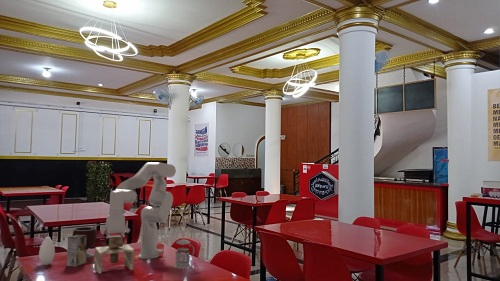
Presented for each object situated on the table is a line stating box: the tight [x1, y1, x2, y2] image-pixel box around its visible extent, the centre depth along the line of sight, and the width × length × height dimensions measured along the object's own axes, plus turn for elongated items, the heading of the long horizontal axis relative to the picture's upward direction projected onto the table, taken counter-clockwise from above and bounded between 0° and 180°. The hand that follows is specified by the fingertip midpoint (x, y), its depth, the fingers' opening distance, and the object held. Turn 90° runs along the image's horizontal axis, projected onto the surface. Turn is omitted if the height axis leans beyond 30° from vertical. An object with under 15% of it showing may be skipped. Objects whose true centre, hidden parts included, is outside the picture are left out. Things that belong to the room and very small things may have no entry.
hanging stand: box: [93, 244, 135, 274], centre depth 213 cm, size 18×14×11 cm
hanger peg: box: [108, 234, 124, 264], centre depth 214 cm, size 7×7×14 cm
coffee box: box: [66, 235, 87, 267], centre depth 220 cm, size 9×6×16 cm
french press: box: [173, 222, 195, 269], centre depth 223 cm, size 10×12×25 cm
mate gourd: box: [72, 223, 100, 259], centre depth 239 cm, size 16×14×20 cm
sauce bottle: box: [38, 233, 56, 266], centre depth 218 cm, size 8×8×18 cm
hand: (114, 244), depth 214 cm, fingers closed on hanger peg, 7 cm apart
